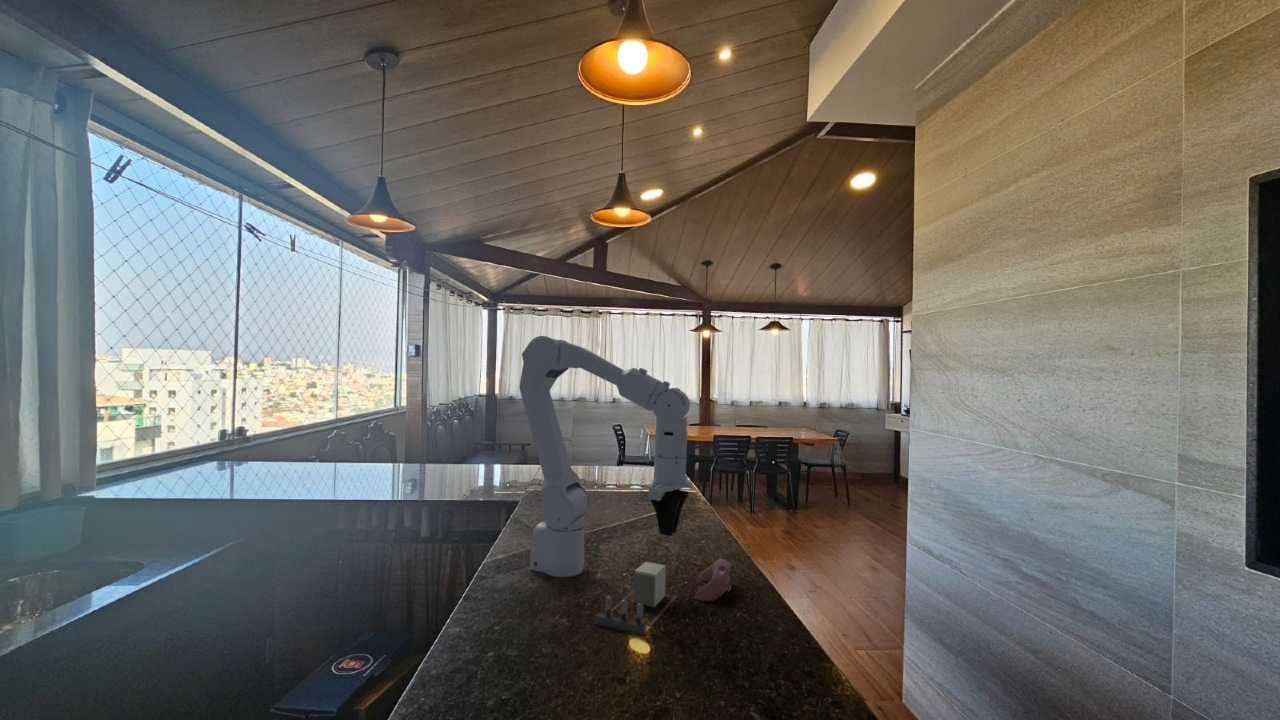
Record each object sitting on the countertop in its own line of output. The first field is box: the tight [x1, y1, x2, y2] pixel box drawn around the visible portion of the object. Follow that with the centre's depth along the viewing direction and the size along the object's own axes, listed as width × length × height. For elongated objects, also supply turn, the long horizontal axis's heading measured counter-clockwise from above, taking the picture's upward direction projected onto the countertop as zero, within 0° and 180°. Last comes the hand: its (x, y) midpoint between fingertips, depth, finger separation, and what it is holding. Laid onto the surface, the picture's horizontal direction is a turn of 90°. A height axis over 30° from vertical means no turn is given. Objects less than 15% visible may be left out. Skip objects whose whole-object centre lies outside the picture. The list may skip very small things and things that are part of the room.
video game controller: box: [694, 557, 732, 602], centre depth 87 cm, size 10×5×7 cm, turn 169°
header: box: [594, 594, 647, 637], centre depth 73 cm, size 8×2×4 cm, turn 66°
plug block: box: [633, 561, 667, 608], centre depth 82 cm, size 4×5×5 cm
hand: (667, 533), depth 89 cm, fingers closed
